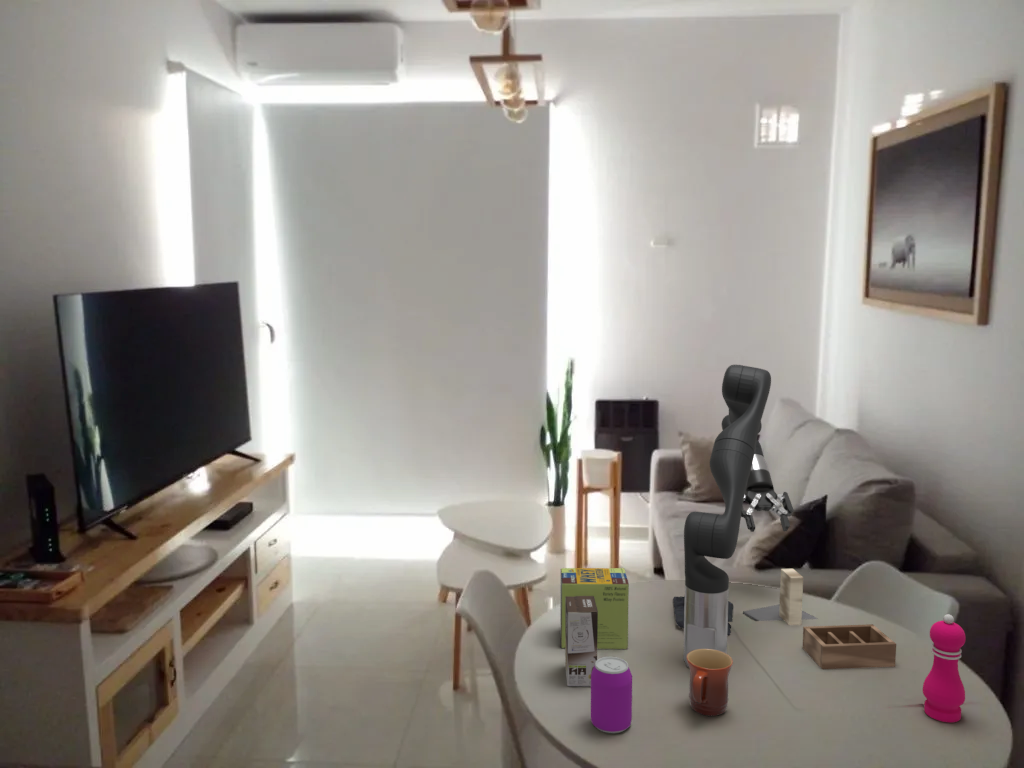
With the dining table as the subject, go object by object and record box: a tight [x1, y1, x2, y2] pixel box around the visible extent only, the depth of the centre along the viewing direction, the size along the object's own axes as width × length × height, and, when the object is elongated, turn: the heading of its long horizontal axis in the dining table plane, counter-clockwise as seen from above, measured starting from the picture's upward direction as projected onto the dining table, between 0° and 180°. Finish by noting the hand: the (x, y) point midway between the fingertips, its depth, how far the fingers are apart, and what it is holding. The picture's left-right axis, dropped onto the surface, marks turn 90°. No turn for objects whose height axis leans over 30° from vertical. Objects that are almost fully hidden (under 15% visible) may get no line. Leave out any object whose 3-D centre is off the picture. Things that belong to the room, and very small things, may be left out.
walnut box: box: [801, 623, 897, 670], centre depth 177 cm, size 10×16×6 cm, turn 94°
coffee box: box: [564, 596, 598, 687], centre depth 170 cm, size 9×6×16 cm
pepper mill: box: [922, 613, 967, 724], centre depth 154 cm, size 7×7×20 cm
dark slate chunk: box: [672, 595, 734, 636], centre depth 201 cm, size 15×22×5 cm
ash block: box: [779, 568, 804, 626], centre depth 196 cm, size 6×3×12 cm, turn 4°
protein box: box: [559, 567, 630, 650], centre depth 188 cm, size 10×15×16 cm
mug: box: [686, 649, 734, 717], centre depth 156 cm, size 12×9×10 cm
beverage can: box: [590, 656, 633, 734], centre depth 152 cm, size 8×8×12 cm
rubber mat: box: [742, 603, 819, 622], centre depth 197 cm, size 18×14×1 cm
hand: (769, 530), depth 205 cm, fingers open, 8 cm apart
